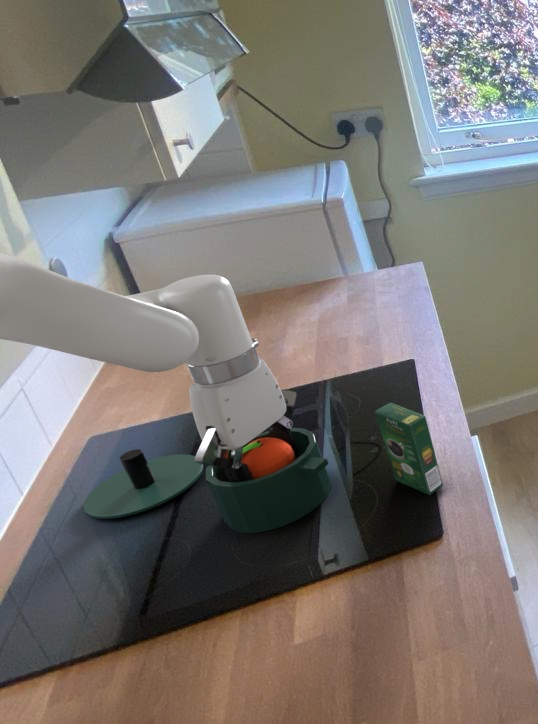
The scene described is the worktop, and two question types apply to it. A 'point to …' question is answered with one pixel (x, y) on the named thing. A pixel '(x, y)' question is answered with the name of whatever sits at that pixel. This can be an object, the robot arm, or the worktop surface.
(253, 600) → the worktop surface
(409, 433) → the coffee box
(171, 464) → the lid
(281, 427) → the robot arm
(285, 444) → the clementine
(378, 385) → the worktop surface
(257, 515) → the pot
